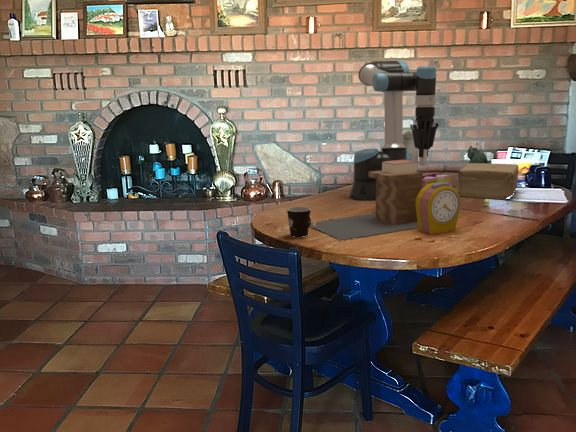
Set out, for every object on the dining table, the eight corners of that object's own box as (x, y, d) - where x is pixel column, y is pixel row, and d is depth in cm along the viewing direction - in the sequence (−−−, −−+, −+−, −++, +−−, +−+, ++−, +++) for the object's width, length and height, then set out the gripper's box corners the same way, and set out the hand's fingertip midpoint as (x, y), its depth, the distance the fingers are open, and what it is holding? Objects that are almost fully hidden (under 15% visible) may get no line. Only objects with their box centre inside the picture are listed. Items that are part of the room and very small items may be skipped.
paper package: (466, 187, 298) (467, 161, 295) (518, 191, 287) (520, 163, 284) (455, 197, 275) (457, 168, 272) (512, 201, 263) (514, 171, 260)
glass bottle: (398, 179, 327) (399, 130, 320) (416, 179, 325) (418, 130, 319) (399, 182, 317) (400, 131, 311) (417, 182, 316) (419, 131, 309)
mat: (303, 224, 227) (303, 223, 227) (392, 211, 246) (392, 210, 246) (341, 240, 203) (341, 239, 203) (436, 225, 222) (436, 224, 222)
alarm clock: (427, 235, 208) (429, 185, 204) (414, 230, 216) (416, 182, 211) (460, 230, 214) (462, 182, 210) (446, 225, 221) (448, 179, 217)
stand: (367, 220, 232) (368, 171, 228) (399, 215, 240) (400, 168, 235) (388, 227, 220) (389, 176, 216) (420, 222, 227) (422, 172, 223)
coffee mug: (286, 232, 215) (286, 207, 213) (309, 232, 216) (308, 206, 213) (289, 241, 204) (288, 214, 201) (313, 240, 204) (312, 213, 202)
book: (381, 171, 227) (382, 161, 226) (403, 169, 232) (404, 159, 231) (394, 174, 220) (394, 163, 219) (416, 171, 225) (417, 161, 224)
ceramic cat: (465, 176, 334) (466, 141, 330) (475, 175, 335) (477, 141, 330) (479, 181, 315) (481, 145, 310) (490, 181, 316) (493, 145, 311)
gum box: (440, 201, 266) (442, 172, 263) (454, 204, 260) (455, 174, 257) (404, 208, 253) (405, 178, 250) (417, 211, 247) (418, 180, 244)
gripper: (418, 107, 220) (416, 167, 225) (444, 105, 225) (441, 165, 231) (406, 106, 226) (404, 165, 231) (431, 105, 232) (429, 162, 237)
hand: (423, 165), depth 231 cm, fingers closed
